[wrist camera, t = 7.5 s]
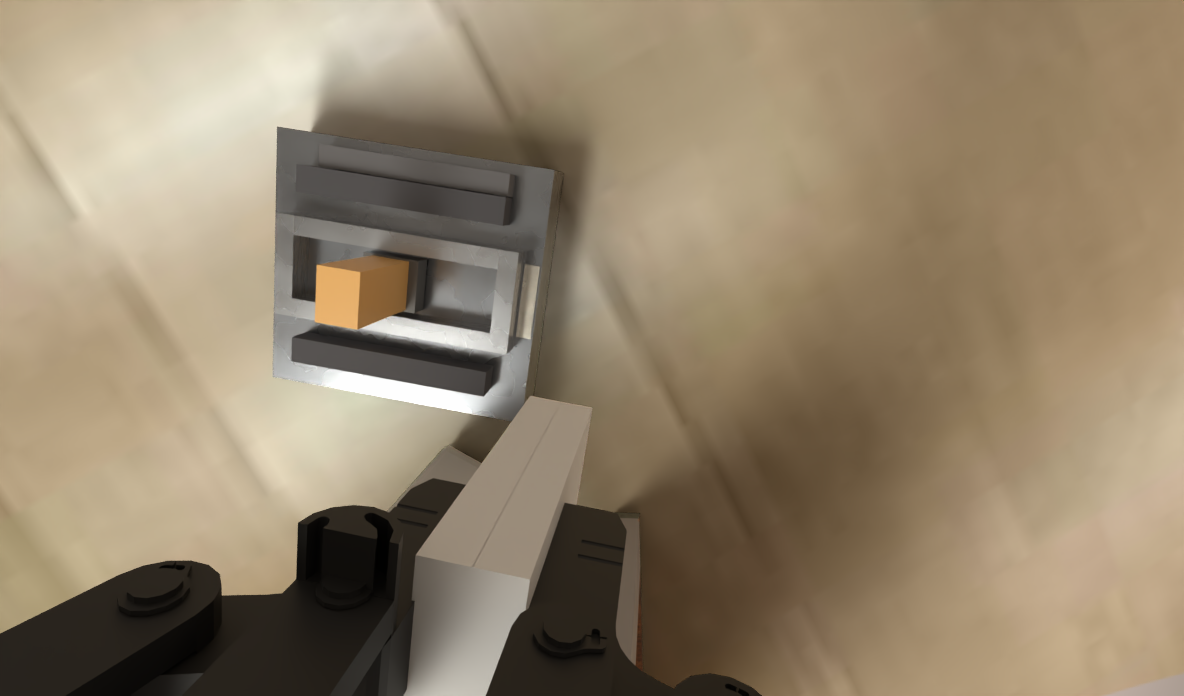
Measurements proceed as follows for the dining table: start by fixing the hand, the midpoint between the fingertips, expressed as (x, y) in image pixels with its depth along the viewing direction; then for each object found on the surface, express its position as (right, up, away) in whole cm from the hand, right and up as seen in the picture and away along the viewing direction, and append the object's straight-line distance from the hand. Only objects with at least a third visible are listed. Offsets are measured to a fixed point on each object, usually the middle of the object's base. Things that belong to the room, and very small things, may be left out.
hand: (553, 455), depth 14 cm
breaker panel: (-9, +7, +21) cm, 24 cm away
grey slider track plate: (-9, +7, +18) cm, 22 cm away
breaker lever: (-10, +6, +18) cm, 22 cm away
